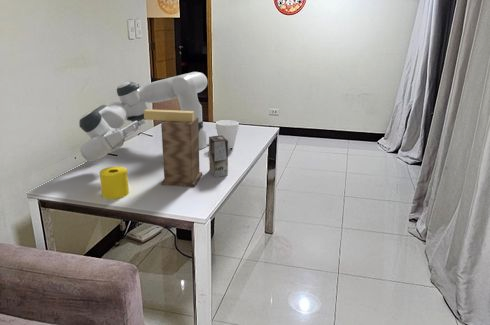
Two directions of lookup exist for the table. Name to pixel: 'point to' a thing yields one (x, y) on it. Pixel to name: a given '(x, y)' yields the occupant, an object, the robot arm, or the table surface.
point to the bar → (169, 115)
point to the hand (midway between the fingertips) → (139, 123)
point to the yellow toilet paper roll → (114, 182)
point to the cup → (228, 130)
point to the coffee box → (218, 155)
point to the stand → (180, 153)
